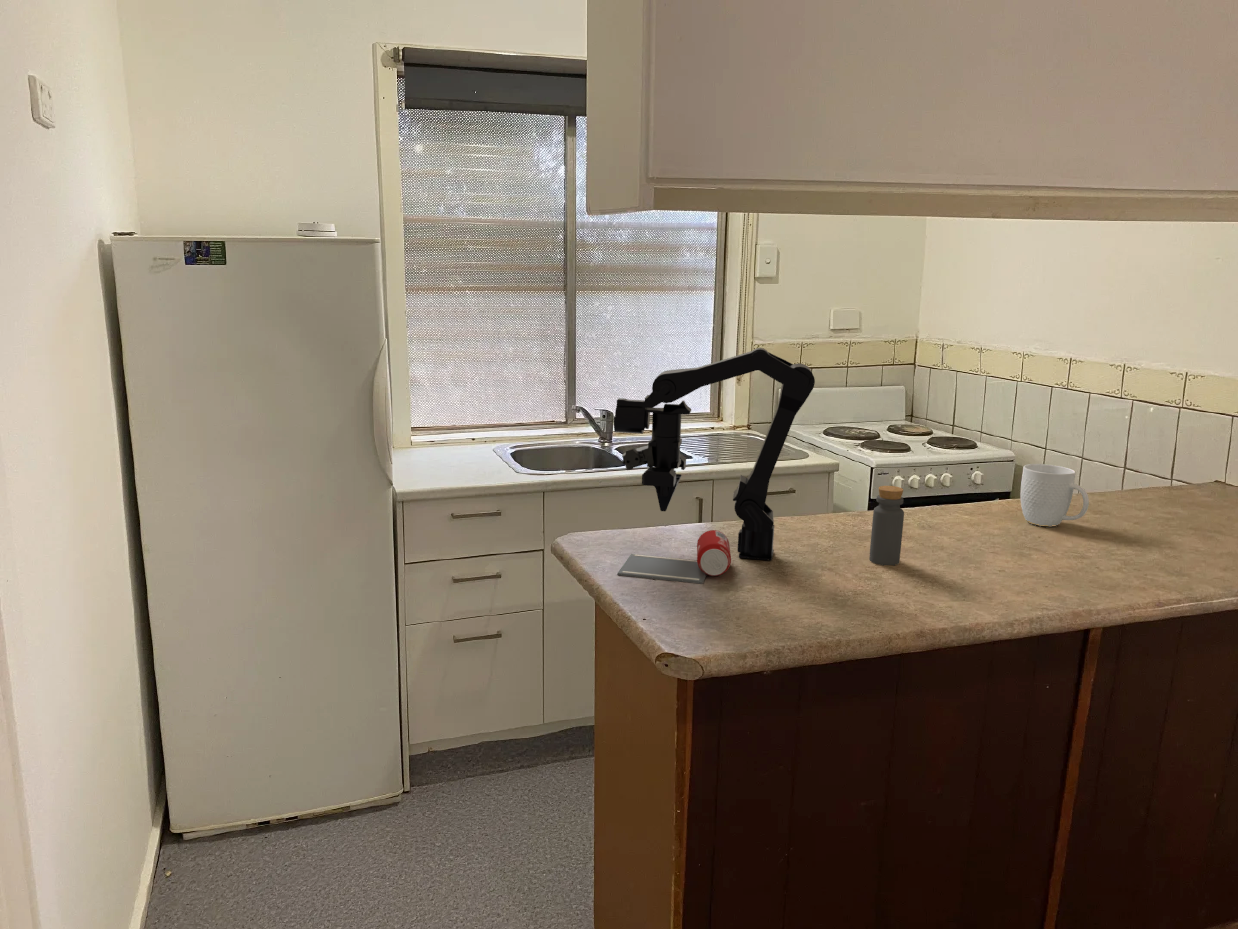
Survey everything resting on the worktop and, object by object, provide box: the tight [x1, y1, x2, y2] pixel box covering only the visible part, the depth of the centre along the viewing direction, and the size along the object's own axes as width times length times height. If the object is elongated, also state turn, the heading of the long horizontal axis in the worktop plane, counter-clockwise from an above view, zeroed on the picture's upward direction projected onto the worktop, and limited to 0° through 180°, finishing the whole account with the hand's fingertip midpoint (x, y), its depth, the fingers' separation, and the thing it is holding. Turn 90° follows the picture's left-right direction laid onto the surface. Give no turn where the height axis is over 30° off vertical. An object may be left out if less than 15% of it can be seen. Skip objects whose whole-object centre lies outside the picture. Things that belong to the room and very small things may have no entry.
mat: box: [617, 553, 708, 585], centre depth 178 cm, size 16×12×1 cm
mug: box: [1019, 463, 1090, 526], centre depth 215 cm, size 15×11×13 cm
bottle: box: [868, 485, 905, 566], centre depth 185 cm, size 6×6×15 cm
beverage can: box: [696, 529, 732, 577], centre depth 178 cm, size 6×6×12 cm
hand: (663, 510), depth 189 cm, fingers closed
